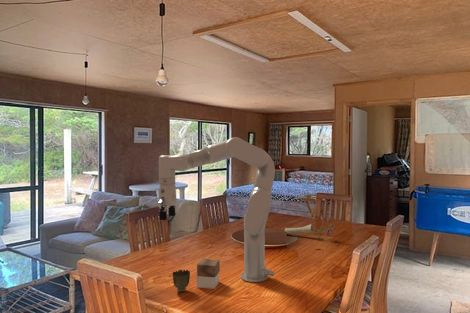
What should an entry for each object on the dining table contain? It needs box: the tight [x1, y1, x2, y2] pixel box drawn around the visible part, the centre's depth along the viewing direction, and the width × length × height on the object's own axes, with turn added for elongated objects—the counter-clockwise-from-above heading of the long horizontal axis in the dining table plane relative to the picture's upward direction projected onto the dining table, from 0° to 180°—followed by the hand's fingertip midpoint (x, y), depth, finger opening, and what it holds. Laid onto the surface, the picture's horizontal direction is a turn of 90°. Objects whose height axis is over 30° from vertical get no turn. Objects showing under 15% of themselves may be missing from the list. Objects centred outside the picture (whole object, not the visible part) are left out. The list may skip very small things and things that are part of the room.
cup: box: [172, 269, 191, 293], centre depth 146 cm, size 8×7×8 cm
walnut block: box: [196, 258, 221, 277], centre depth 153 cm, size 8×8×5 cm
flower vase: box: [284, 223, 336, 241], centre depth 230 cm, size 12×12×35 cm
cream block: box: [196, 272, 220, 290], centre depth 153 cm, size 8×8×5 cm
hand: (167, 217), depth 162 cm, fingers open, 9 cm apart
